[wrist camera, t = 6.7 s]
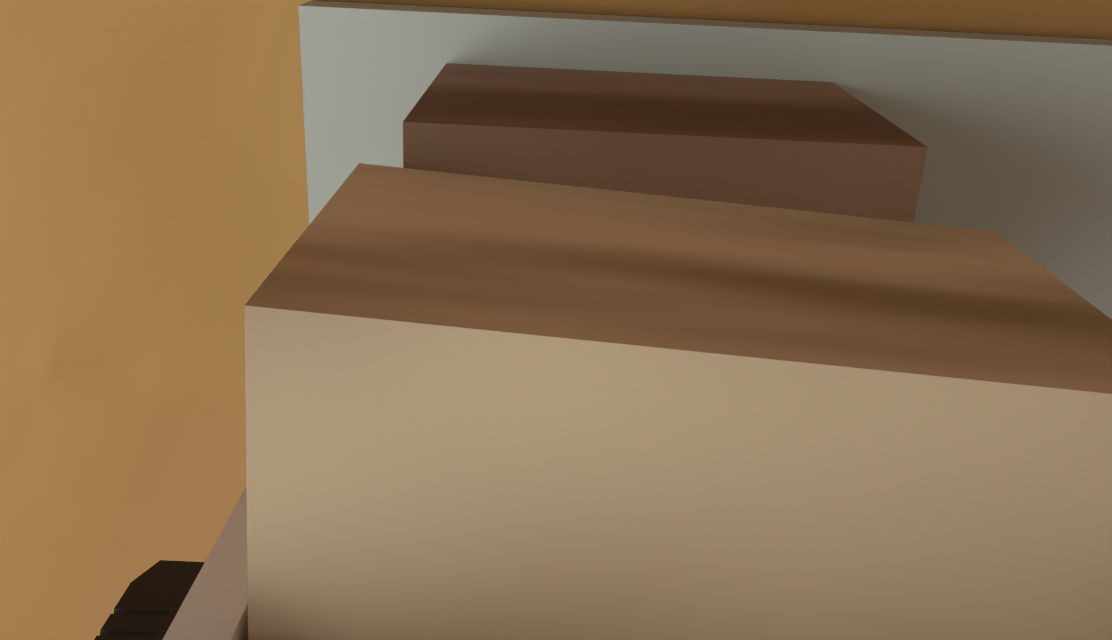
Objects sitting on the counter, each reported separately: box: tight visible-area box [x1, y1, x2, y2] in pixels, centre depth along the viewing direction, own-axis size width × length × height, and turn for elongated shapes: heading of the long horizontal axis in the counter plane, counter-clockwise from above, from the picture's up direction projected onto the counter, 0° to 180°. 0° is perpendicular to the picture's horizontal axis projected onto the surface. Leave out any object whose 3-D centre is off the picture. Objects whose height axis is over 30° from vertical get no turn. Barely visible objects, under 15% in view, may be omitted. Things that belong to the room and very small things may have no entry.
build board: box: [299, 0, 1112, 319], centre depth 24 cm, size 13×22×1 cm, turn 87°
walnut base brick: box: [403, 63, 928, 222], centre depth 20 cm, size 12×8×6 cm, turn 177°
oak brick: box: [245, 163, 1112, 640], centre depth 15 cm, size 10×10×6 cm
